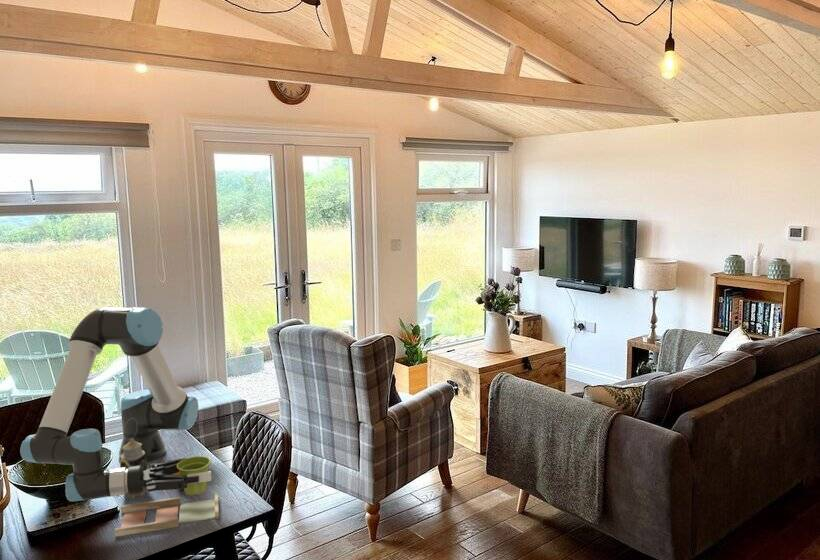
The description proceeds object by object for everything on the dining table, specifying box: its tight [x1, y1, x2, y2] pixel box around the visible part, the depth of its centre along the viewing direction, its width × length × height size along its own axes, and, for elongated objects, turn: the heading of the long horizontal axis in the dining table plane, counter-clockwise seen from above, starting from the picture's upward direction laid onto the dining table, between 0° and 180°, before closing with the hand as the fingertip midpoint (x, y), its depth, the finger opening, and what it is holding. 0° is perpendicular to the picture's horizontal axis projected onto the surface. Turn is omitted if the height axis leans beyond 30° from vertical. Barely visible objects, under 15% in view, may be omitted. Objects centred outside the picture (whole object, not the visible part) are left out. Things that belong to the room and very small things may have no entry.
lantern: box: [118, 418, 149, 500], centre depth 193 cm, size 9×8×25 cm
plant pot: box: [177, 455, 212, 496], centre depth 183 cm, size 9×9×9 cm
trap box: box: [114, 492, 220, 538], centre depth 182 cm, size 14×28×2 cm, turn 108°
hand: (211, 469), depth 184 cm, fingers closed on plant pot, 8 cm apart
